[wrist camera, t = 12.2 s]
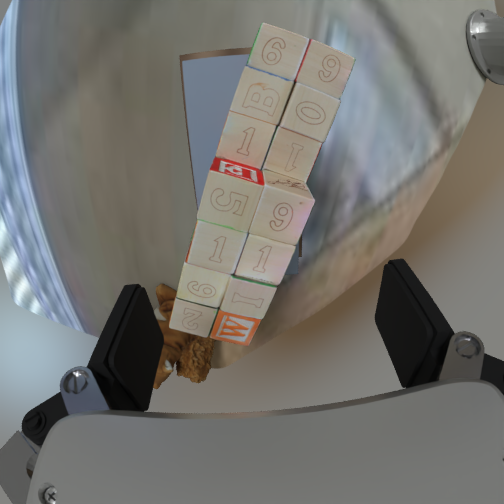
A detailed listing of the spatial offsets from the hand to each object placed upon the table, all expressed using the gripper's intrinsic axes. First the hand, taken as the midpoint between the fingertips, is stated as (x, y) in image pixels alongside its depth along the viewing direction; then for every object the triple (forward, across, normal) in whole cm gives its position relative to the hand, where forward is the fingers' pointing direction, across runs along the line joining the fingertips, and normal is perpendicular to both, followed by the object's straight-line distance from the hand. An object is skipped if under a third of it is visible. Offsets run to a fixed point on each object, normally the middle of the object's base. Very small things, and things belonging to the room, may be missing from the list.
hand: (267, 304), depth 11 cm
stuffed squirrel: (+27, +14, +25) cm, 40 cm away
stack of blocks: (+19, 0, -1) cm, 19 cm away
